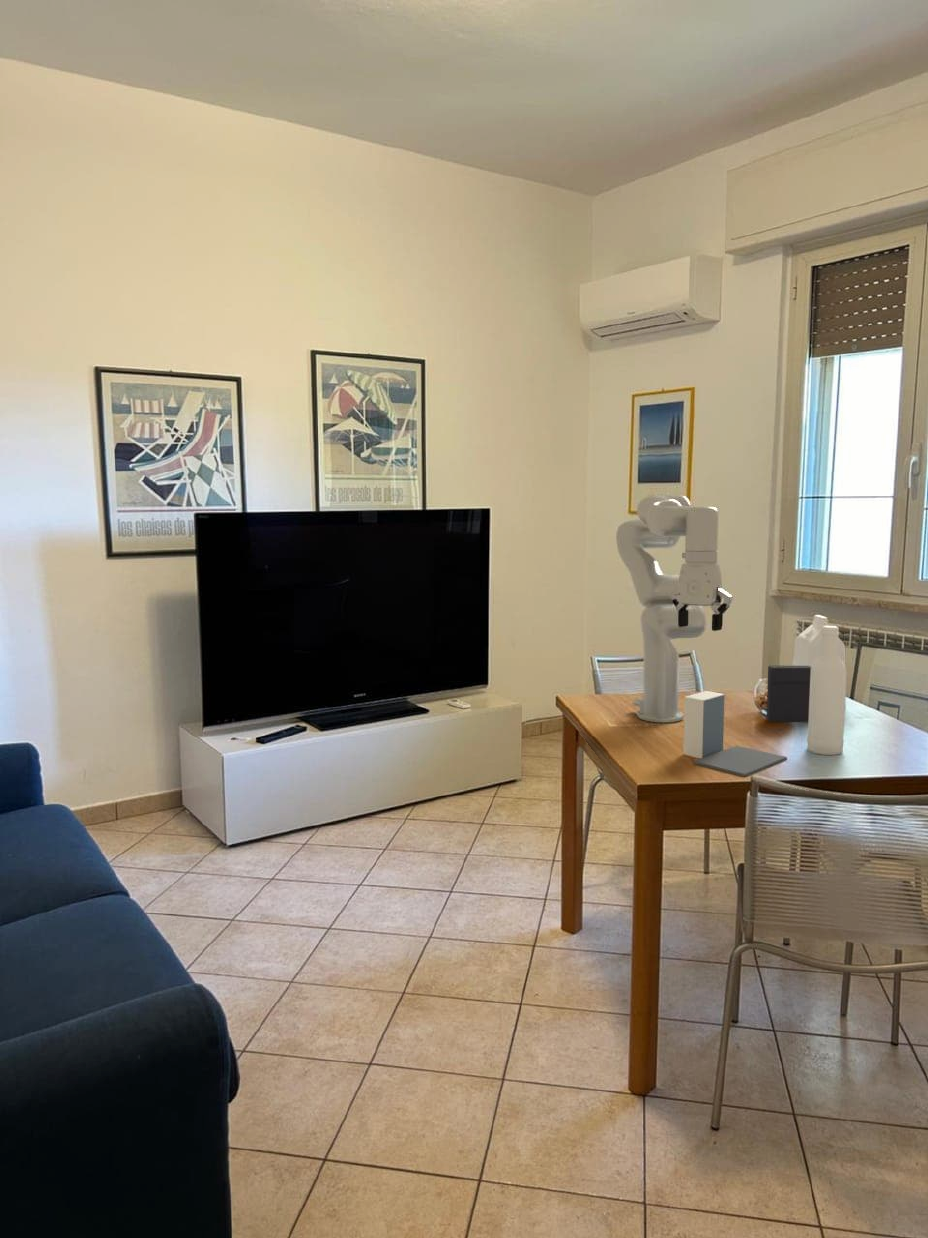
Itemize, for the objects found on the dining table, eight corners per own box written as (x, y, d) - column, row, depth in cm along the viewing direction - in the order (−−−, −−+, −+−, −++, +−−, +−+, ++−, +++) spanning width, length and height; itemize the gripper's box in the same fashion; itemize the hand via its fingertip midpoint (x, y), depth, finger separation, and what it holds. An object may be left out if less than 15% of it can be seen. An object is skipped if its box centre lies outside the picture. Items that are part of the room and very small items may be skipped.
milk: (845, 709, 244) (849, 619, 240) (805, 709, 244) (808, 619, 240) (828, 699, 255) (832, 613, 252) (789, 700, 256) (793, 613, 252)
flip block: (683, 754, 203) (684, 696, 201) (705, 746, 209) (706, 690, 207) (701, 758, 199) (703, 700, 197) (723, 751, 205) (724, 694, 203)
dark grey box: (806, 718, 234) (809, 665, 232) (811, 722, 229) (813, 668, 227) (765, 718, 235) (767, 664, 233) (769, 722, 230) (771, 667, 228)
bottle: (799, 748, 206) (804, 625, 202) (823, 744, 209) (829, 623, 205) (825, 757, 199) (831, 630, 195) (850, 752, 202) (856, 627, 198)
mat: (693, 763, 196) (693, 761, 196) (736, 747, 207) (736, 745, 207) (744, 776, 186) (744, 774, 186) (786, 759, 198) (786, 757, 198)
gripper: (662, 557, 210) (661, 626, 213) (723, 560, 197) (721, 633, 199) (681, 556, 215) (679, 623, 217) (741, 558, 202) (739, 630, 204)
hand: (699, 628), depth 208 cm, fingers open, 9 cm apart
